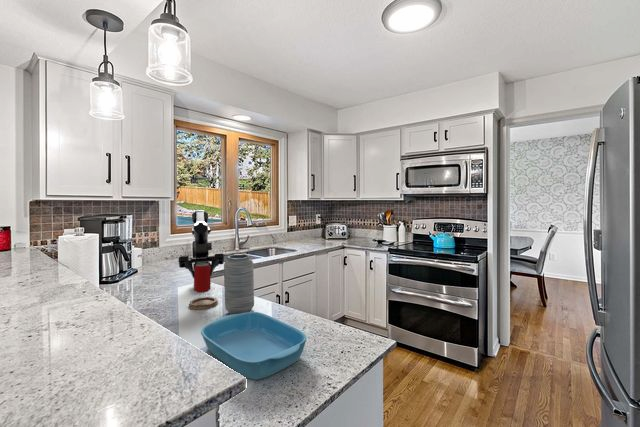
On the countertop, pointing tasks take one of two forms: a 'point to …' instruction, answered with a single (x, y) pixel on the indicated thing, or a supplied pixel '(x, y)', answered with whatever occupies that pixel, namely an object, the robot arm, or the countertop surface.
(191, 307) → the coaster
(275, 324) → the casserole dish
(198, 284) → the beverage can
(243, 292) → the vase
